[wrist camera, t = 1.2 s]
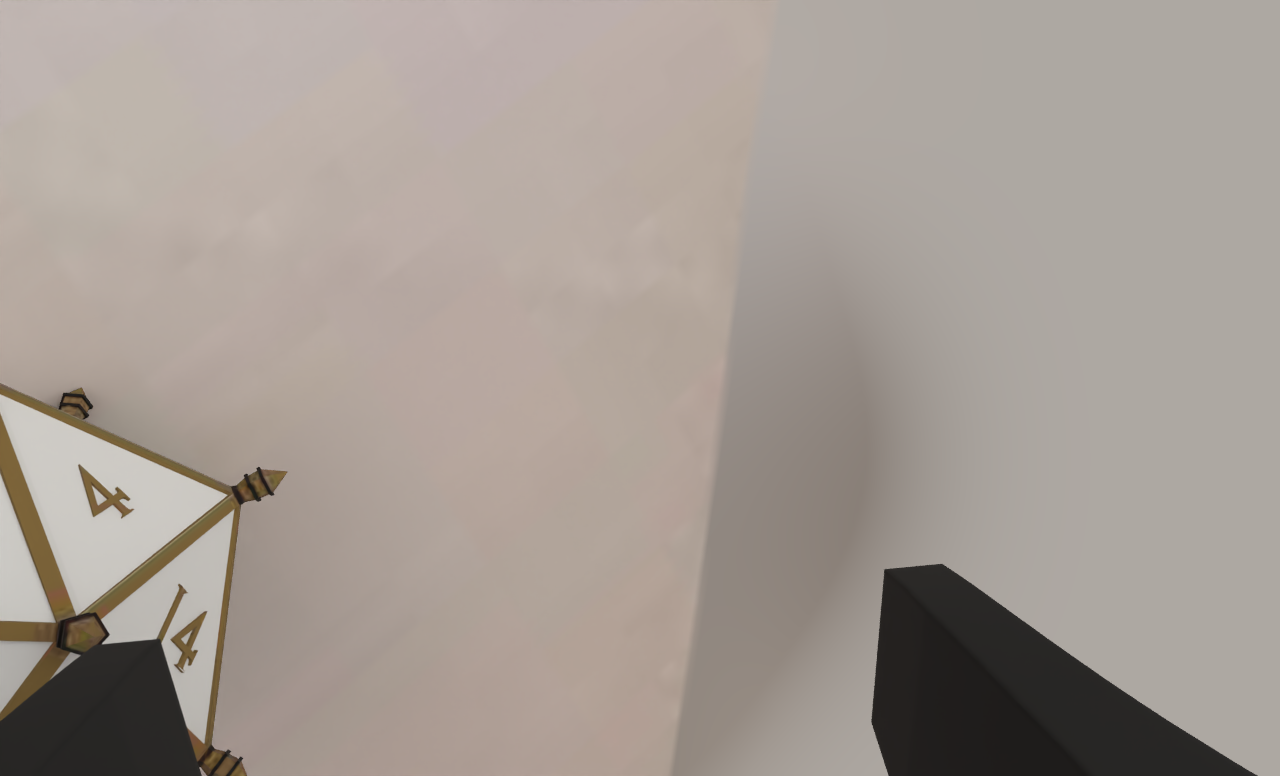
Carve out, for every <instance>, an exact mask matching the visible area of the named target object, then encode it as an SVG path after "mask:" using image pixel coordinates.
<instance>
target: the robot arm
mask: <svg viewBox="0 0 1280 776" xmlns="http://www.w3.org/2000/svg"><path fill="white" fill-rule="evenodd" d="M883 583H884V584H883V594H882V606H881V617H880V629H879V640H878V651H877V664H876V676H875V686H874V698H873V710H872V725H873V729H874V732H875V735H876V738H877V741H878V744H879V747H880V750H881V753H882V757H883V759H884V763H885V766H886V769H887V772H888V775H889V776H1257V775H1255V774H1253V773H1252V772H1250V771H1248V770H1246V769H1245V768H1243V767H1242V766H1240V765H1238V764H1237V763H1235V762H1233V761H1232V760H1230V759H1229V758H1227V757H1225V756H1224V755H1222V754H1220V753H1219V752H1217V751H1216V750H1214V749H1212V748H1211V747H1209V746H1208V745H1206V744H1204V743H1203V742H1201V741H1200V740H1198V739H1196V738H1195V737H1193V736H1192V735H1190V734H1188V733H1186V732H1185V731H1184V730H1182V729H1180V728H1179V727H1177V726H1176V725H1174V724H1172V723H1171V722H1169V721H1167V720H1166V719H1164V718H1163V717H1161V716H1160V715H1158V714H1157V713H1155V712H1154V711H1152V710H1151V709H1149V708H1148V707H1146V706H1145V705H1143V704H1142V703H1140V702H1138V701H1137V700H1136V699H1134V698H1133V697H1131V696H1130V695H1128V694H1127V693H1125V692H1124V691H1122V690H1121V689H1119V688H1118V687H1116V686H1115V685H1113V684H1112V683H1110V682H1109V681H1107V680H1106V679H1104V678H1103V677H1101V676H1100V675H1099V674H1097V673H1096V672H1094V671H1093V670H1091V669H1090V668H1089V667H1087V666H1086V665H1084V664H1083V663H1081V662H1080V661H1078V660H1077V659H1076V658H1074V657H1073V656H1071V655H1070V654H1069V653H1067V652H1066V651H1064V650H1063V649H1061V648H1060V647H1059V646H1057V645H1056V644H1054V643H1053V642H1051V641H1050V640H1049V639H1047V638H1046V637H1045V636H1043V635H1042V634H1040V633H1039V632H1038V631H1036V630H1035V629H1034V628H1032V627H1031V626H1029V625H1028V624H1026V623H1025V622H1024V621H1022V620H1021V619H1020V618H1018V617H1017V616H1015V615H1014V614H1013V613H1011V612H1010V611H1009V610H1007V609H1006V608H1004V607H1003V606H1002V605H1000V604H999V603H997V602H996V601H995V600H993V599H992V598H991V597H989V596H988V595H986V594H985V593H984V592H982V591H981V590H979V589H978V588H977V587H975V586H974V585H972V584H971V583H969V582H968V581H967V580H965V579H964V578H962V577H961V576H959V575H958V574H957V573H955V572H954V571H952V570H951V569H949V568H947V567H946V566H944V565H943V564H936V565H925V566H915V567H905V568H894V569H885V570H884V582H883ZM0 776H202V775H201V772H200V769H199V765H198V762H197V759H196V756H195V752H194V749H193V746H192V742H191V739H190V736H189V733H188V729H187V726H186V723H185V719H184V716H183V713H182V709H181V706H180V703H179V700H178V696H177V693H176V690H175V686H174V683H173V680H172V677H171V673H170V670H169V667H168V663H167V660H166V657H165V653H164V650H163V647H162V644H161V640H160V639H152V640H142V641H131V642H121V643H110V644H100V645H94V646H93V647H91V648H90V649H89V650H87V651H86V652H85V653H83V654H82V655H81V656H79V657H78V658H77V659H75V660H74V661H73V662H71V663H70V664H69V665H68V666H66V667H65V668H64V669H63V670H61V671H60V672H59V673H58V674H56V675H55V676H54V677H53V678H52V679H50V680H49V681H48V682H47V683H45V684H44V685H43V686H42V687H41V688H39V689H38V690H37V691H36V692H35V693H33V694H32V695H31V696H30V697H29V698H27V699H26V700H25V701H24V702H23V703H21V704H20V705H19V706H18V707H17V708H15V709H14V710H13V711H12V712H11V713H9V714H8V715H7V716H6V717H5V718H4V719H2V720H1V721H0Z"/></svg>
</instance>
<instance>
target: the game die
mask: <svg viewBox="0 0 1280 776" xmlns="http://www.w3.org/2000/svg"><path fill="white" fill-rule="evenodd" d="M92 408H93V406H92V404H91V403H90V402H89V400H88V399H87V398H86V396H85V393H84V391H83V389H82V388H80V389H77V390H75V391H73V392H70V393H63V396H62V400H61V402H60V405H59V409H57V408H54V407H52V406H50V405H48V404H46V403H43V402H41V401H39V400H37V399H34V398H32V397H30V396H28V395H25V394H23V393H21V392H19V391H17V390H14V389H12V388H10V387H8V386H5V385H3V384H1V383H0V721H1V720H2V719H4V718H5V717H6V716H7V715H8V714H9V713H11V712H12V711H13V710H14V709H15V708H17V707H18V706H19V705H20V704H21V703H23V702H24V701H25V700H26V699H27V698H29V697H30V696H31V695H32V694H33V693H35V692H36V691H37V690H38V689H39V688H41V687H42V686H43V685H44V684H45V683H47V682H48V681H49V680H50V679H52V678H53V677H54V676H55V675H56V674H58V673H59V672H60V671H61V670H63V669H64V668H65V667H66V666H68V665H69V664H70V663H71V662H73V661H74V660H75V659H77V658H78V657H79V656H81V655H82V654H83V653H85V652H86V651H87V650H89V649H90V648H91V647H93V646H94V645H100V644H110V643H121V642H131V641H142V640H152V639H160V640H161V644H162V647H163V650H164V653H165V657H166V660H167V663H168V667H169V670H170V673H171V677H172V680H173V683H174V686H175V690H176V693H177V696H178V700H179V703H180V706H181V709H182V713H183V716H184V719H185V723H186V726H187V729H188V733H189V736H190V739H191V742H192V746H193V749H194V752H195V756H196V759H197V762H198V765H199V767H201V768H202V769H203V771H204V772H205V773H206V775H207V776H247V774H246V772H245V769H244V767H243V764H242V762H241V760H242V759H243V758H242V757H240V758H239V759H237V758H236V757H234V756H232V755H230V754H229V753H230V752H231V751H230V750H227V751H226V752H224V751H220V750H217V749H214V747H213V746H212V745H211V744H212V736H213V728H214V719H215V711H216V703H217V695H218V687H219V679H220V671H221V663H222V655H223V647H224V639H225V631H226V623H227V614H228V606H229V598H230V590H231V582H232V574H233V566H234V558H235V550H236V542H237V534H238V526H239V517H240V509H241V504H243V503H244V502H247V501H252V500H256V501H261V498H262V497H264V496H266V495H268V494H269V495H271V496H273V495H274V493H273V492H274V490H275V489H276V487H277V486H278V485H279V483H280V482H281V480H282V479H283V478H284V476H285V475H286V473H287V472H286V471H274V470H262V469H260V467H258V468H257V471H256V472H255V473H253V474H251V475H249V476H248V474H245V475H244V477H245V478H244V479H243V480H242V481H241V482H240V483H239V484H238V485H236V486H232V487H231V486H228V485H226V484H224V483H222V482H219V481H217V480H215V479H213V478H211V477H208V476H206V475H204V474H202V473H199V472H197V471H195V470H193V469H190V468H188V467H186V466H184V465H182V464H179V463H177V462H175V461H173V460H170V459H168V458H166V457H164V456H161V455H159V454H157V453H155V452H153V451H150V450H148V449H146V448H144V447H141V446H139V445H137V444H135V443H132V442H130V441H128V440H126V439H124V438H121V437H119V436H117V435H115V434H112V433H110V432H108V431H106V430H104V429H101V428H99V427H97V426H95V425H92V424H90V423H88V422H86V421H83V420H82V419H85V418H87V417H88V416H89V415H88V413H87V411H88V410H89V409H92Z"/></svg>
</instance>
